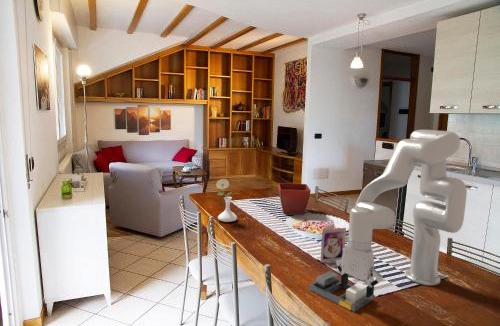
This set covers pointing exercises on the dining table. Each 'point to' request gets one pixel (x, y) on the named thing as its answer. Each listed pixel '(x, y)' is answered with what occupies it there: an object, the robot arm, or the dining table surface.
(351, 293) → the white block
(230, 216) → the flower in vase
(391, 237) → the dining table surface
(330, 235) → the greeting card
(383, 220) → the robot arm
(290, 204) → the plant pot
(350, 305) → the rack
